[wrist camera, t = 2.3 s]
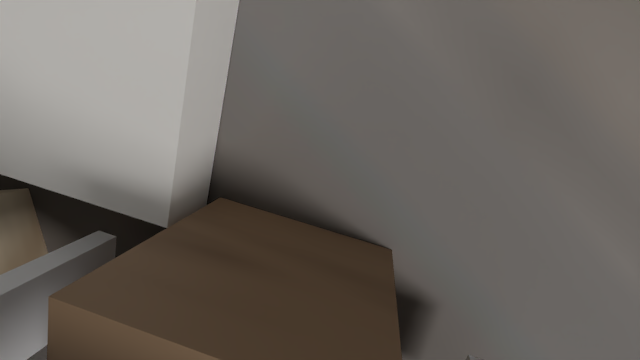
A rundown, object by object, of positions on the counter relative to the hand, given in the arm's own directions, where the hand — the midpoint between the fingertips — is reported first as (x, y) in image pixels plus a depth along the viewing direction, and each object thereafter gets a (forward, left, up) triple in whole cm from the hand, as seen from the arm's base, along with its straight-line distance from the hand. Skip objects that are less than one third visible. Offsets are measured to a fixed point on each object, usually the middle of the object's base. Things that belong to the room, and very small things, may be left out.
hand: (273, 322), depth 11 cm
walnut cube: (0, 0, -2) cm, 2 cm away
